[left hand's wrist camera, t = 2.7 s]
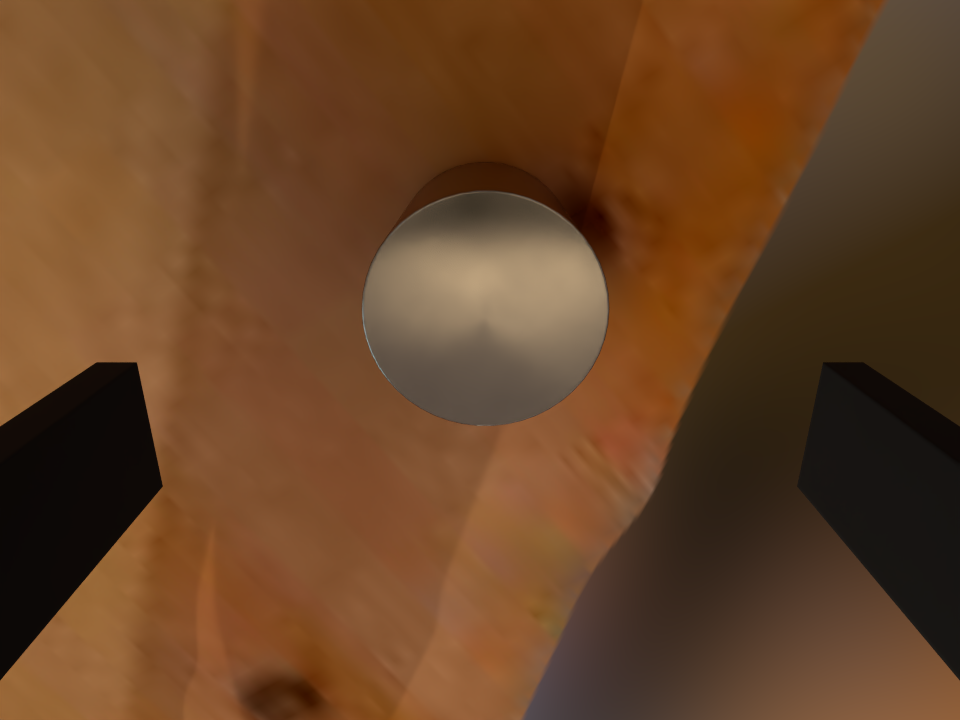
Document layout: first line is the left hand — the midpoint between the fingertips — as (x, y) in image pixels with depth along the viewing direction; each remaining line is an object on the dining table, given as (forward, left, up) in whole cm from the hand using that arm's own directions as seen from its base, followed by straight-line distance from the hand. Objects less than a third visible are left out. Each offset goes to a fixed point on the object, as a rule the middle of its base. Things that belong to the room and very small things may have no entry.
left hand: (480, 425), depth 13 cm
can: (0, 0, -13) cm, 13 cm away
